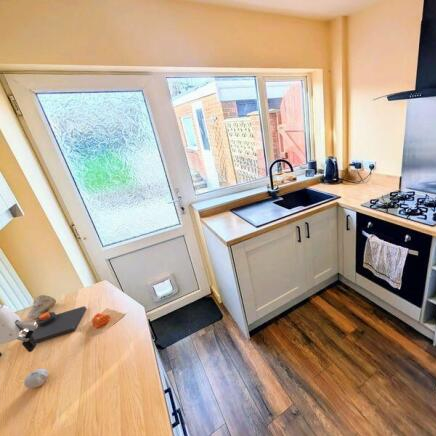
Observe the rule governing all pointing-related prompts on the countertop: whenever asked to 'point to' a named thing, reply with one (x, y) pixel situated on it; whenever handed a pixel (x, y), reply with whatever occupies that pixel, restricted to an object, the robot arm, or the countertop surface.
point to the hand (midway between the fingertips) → (15, 353)
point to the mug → (41, 306)
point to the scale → (58, 324)
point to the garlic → (36, 378)
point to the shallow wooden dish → (101, 322)
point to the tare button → (44, 316)
